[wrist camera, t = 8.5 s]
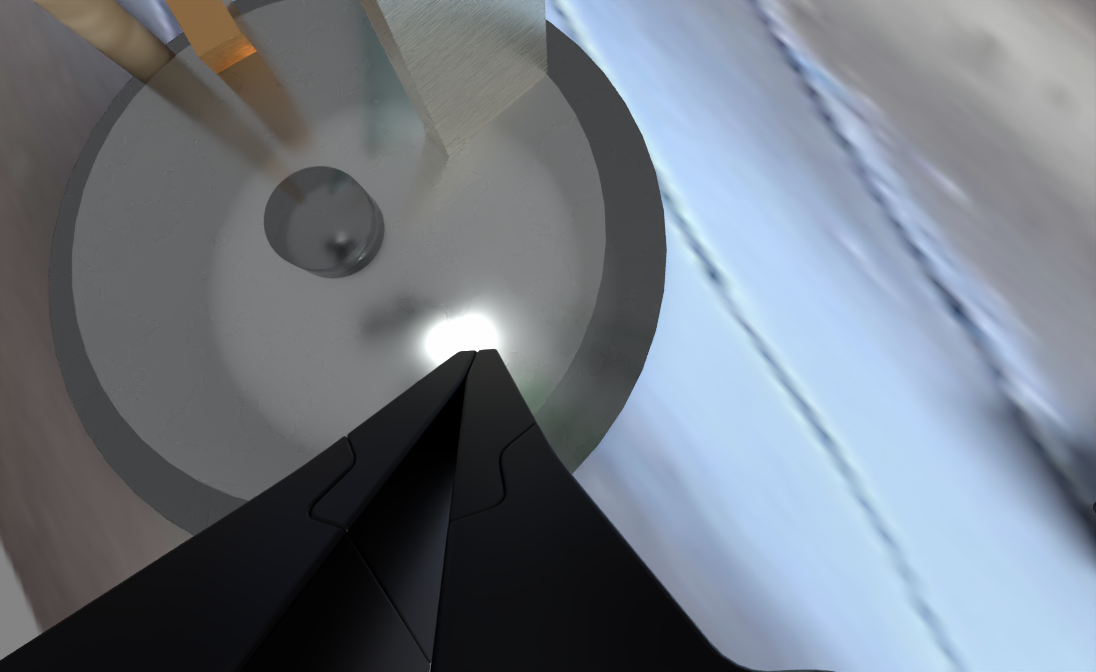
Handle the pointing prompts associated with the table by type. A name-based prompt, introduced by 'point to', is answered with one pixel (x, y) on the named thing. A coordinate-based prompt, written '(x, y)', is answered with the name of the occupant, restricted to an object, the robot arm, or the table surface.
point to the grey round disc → (570, 410)
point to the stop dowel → (113, 34)
